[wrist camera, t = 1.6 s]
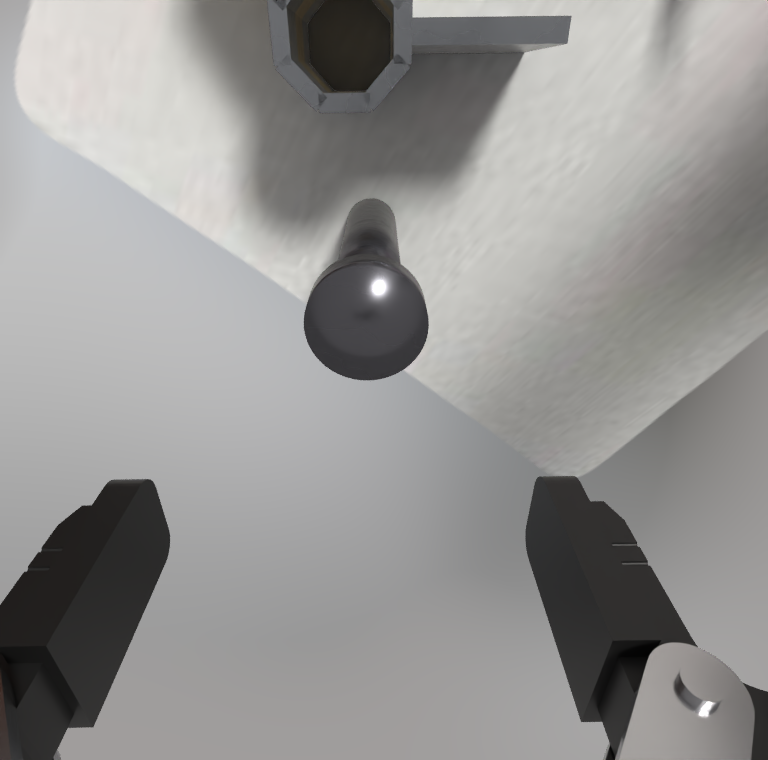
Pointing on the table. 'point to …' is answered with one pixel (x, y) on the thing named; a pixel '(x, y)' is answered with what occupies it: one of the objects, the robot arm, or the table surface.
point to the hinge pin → (367, 301)
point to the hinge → (399, 46)
